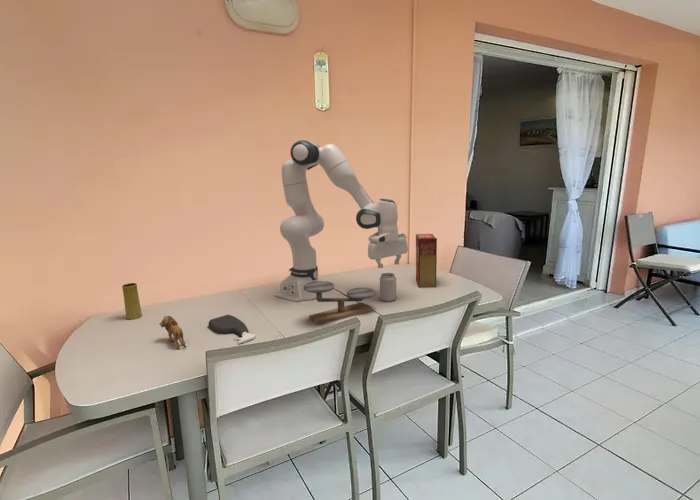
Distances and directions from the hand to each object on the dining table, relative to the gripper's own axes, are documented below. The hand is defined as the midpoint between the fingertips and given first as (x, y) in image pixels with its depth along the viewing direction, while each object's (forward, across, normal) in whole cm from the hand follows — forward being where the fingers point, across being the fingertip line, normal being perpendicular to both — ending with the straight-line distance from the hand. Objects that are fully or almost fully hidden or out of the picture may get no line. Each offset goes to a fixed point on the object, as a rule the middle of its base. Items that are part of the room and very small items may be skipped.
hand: (388, 266), depth 174 cm
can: (+16, 0, -1) cm, 16 cm away
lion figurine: (+15, +90, -11) cm, 92 cm away
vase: (+14, +100, -48) cm, 112 cm away
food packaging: (+16, -30, -8) cm, 35 cm away
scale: (+16, +28, +2) cm, 32 cm away
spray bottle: (+16, +70, -8) cm, 72 cm away
